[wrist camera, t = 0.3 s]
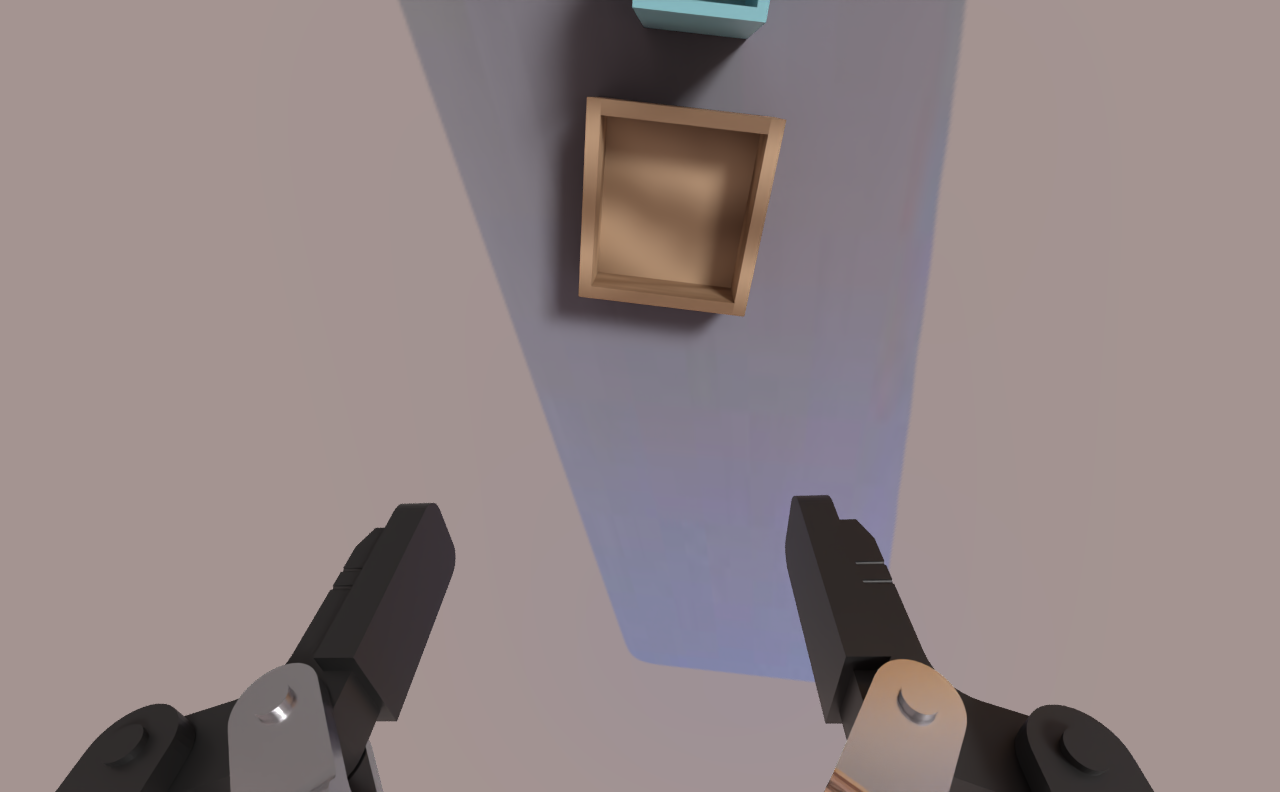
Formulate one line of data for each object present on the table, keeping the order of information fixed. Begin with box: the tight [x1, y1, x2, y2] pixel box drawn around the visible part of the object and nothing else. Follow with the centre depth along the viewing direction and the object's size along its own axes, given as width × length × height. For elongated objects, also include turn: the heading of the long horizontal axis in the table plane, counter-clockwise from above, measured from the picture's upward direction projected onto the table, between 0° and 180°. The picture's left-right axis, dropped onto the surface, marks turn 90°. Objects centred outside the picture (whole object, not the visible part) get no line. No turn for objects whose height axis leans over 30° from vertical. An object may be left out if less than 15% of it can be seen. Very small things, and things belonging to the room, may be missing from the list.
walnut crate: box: [579, 97, 786, 316], centre depth 33 cm, size 12×11×4 cm
